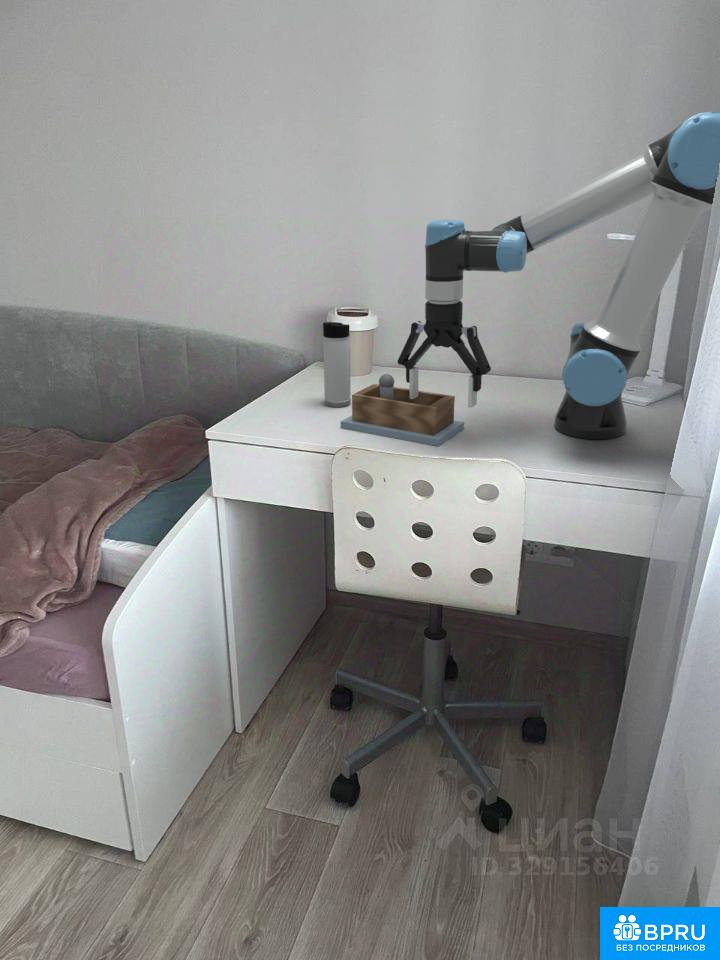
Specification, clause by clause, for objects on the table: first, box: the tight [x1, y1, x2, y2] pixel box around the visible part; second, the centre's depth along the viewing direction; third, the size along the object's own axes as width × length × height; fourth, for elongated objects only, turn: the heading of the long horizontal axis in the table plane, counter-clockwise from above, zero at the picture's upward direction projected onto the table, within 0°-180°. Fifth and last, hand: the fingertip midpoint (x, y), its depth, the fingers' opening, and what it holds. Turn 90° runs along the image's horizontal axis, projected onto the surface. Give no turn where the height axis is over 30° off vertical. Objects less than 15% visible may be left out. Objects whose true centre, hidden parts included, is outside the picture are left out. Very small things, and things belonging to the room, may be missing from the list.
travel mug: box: [322, 321, 352, 408], centre depth 188 cm, size 6×7×20 cm
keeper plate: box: [340, 373, 465, 447], centre depth 173 cm, size 24×13×12 cm, turn 59°
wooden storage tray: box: [351, 383, 456, 436], centre depth 174 cm, size 20×10×6 cm, turn 59°
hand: (442, 401), depth 168 cm, fingers open, 13 cm apart
